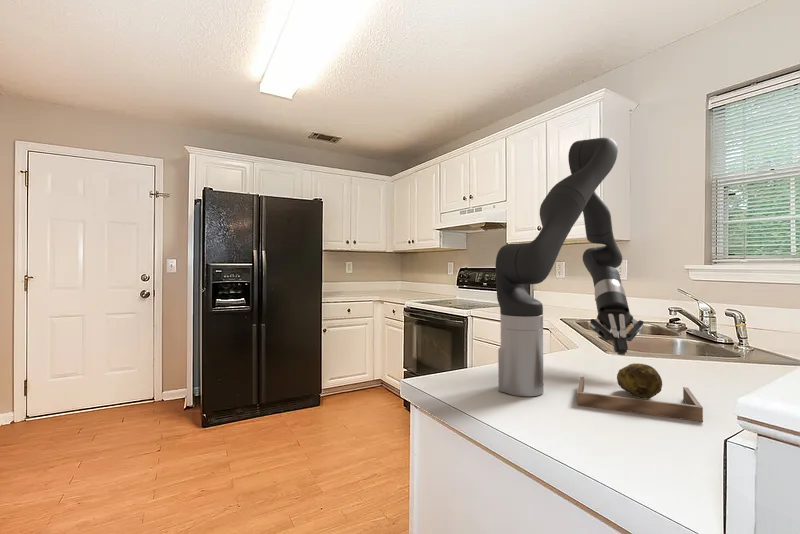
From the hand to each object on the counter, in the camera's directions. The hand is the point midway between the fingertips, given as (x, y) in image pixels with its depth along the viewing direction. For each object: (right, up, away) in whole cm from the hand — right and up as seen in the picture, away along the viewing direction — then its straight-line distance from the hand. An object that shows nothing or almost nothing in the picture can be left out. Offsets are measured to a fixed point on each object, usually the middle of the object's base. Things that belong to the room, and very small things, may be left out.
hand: (621, 352), depth 99 cm
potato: (-4, -7, -14) cm, 16 cm away
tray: (-6, -7, -16) cm, 19 cm away
